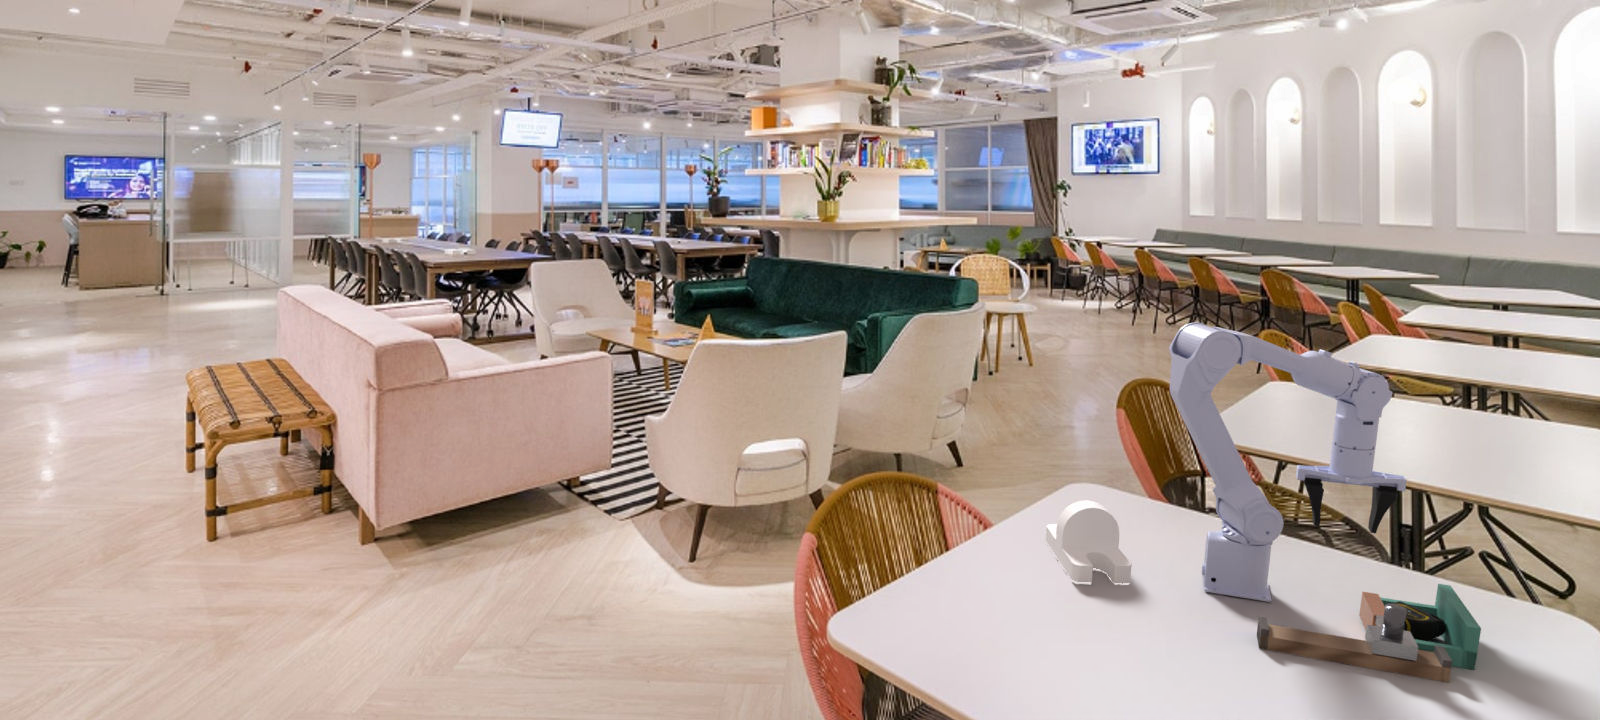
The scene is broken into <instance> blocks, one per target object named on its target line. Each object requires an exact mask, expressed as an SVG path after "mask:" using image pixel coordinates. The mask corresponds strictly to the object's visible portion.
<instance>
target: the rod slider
mask: <svg viewBox="0 0 1600 720" xmlns="http://www.w3.org/2000/svg"><path fill="white" fill-rule="evenodd" d="M1406 612H1407V609H1406V608H1405V607H1403V606H1400V605H1397V604H1391V603H1389V604H1385V606H1384V604H1383V602H1382V600H1381V599H1380V595H1379V593H1374V592H1368V591H1361V599H1360V607H1359V614H1358V616H1359V617H1360V618H1359V619H1360V620H1361V622H1362V625H1363V627H1364V629H1365V635H1364V639H1365V641H1367V644H1368V646H1369V648H1370V651H1371V653H1374V654H1380V655H1385V656H1391V657H1397V658H1403V659H1408V660H1414V661H1416V660H1417V653H1418V645H1417V643H1416V641H1415V640H1414V638H1413V636H1412V634H1411V632H1410V631H1404V626H1405V619H1406Z"/></svg>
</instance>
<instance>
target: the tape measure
mask: <svg viewBox="0 0 1600 720" xmlns="http://www.w3.org/2000/svg"><path fill="white" fill-rule="evenodd" d="M1401 601H1402V600H1401ZM1401 601H1398V602H1395V603H1391V604H1397V605H1400V606H1403V607H1405V608H1406V609H1407V612H1406V619H1405V626H1404V631H1410V632H1411V634H1412V636H1413V638H1414V639H1416V640H1422V641H1428V642H1433V640H1434V639H1435V638H1438V637H1442V636H1441V635H1442V634H1444V633H1445V629H1446V624H1445V622H1444V621H1443V620H1442V619H1440V618H1439V617H1437V616H1435V615H1433V614H1430V613H1428V612H1426V611H1423V610H1421V609H1419V608H1416V607H1413V606H1411V605H1408V604H1406V603H1404V602H1401Z"/></svg>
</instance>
